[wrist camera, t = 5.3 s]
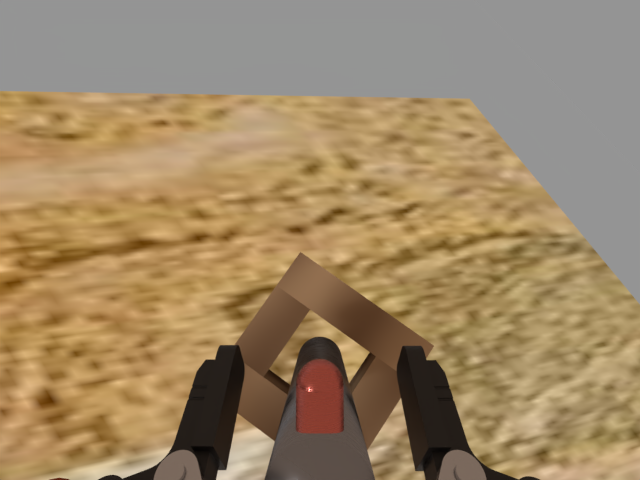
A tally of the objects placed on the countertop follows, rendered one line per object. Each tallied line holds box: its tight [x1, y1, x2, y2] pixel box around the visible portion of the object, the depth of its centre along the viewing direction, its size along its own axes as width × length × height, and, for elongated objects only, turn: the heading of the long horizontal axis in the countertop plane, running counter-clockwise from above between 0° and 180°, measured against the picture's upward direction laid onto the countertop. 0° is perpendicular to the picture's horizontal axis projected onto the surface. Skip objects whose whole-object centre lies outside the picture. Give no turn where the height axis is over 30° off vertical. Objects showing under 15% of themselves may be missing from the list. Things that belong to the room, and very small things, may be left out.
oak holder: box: [235, 252, 434, 450], centre depth 18 cm, size 9×9×2 cm
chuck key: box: [264, 337, 375, 480], centre depth 13 cm, size 5×3×12 cm, turn 0°
